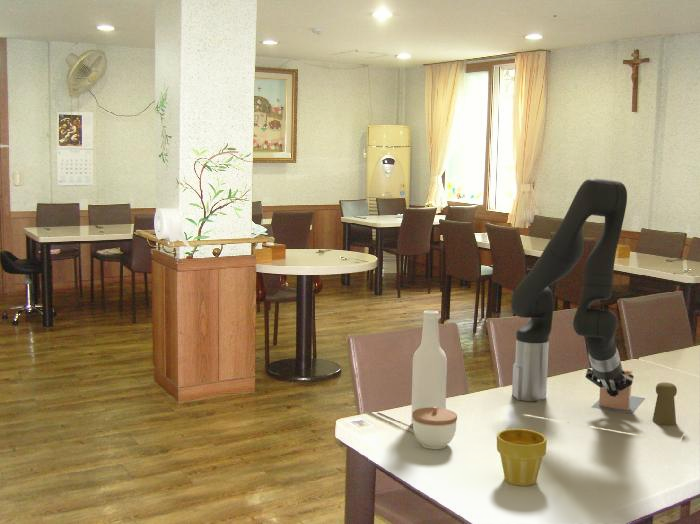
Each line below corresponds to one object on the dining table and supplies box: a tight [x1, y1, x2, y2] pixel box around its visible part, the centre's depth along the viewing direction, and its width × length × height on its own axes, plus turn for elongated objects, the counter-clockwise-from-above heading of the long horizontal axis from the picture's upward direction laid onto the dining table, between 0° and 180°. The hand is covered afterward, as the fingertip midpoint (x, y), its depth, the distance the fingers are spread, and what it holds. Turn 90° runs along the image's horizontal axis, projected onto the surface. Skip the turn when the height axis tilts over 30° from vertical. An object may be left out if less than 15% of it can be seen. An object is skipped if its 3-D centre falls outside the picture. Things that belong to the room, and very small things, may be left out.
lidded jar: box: [411, 407, 458, 450], centre depth 188 cm, size 11×11×9 cm
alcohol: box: [410, 309, 448, 424], centre depth 202 cm, size 9×9×30 cm
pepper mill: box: [652, 381, 678, 427], centre depth 206 cm, size 6×6×11 cm
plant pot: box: [496, 428, 548, 487], centre depth 167 cm, size 10×10×10 cm
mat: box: [591, 395, 646, 415], centre depth 224 cm, size 18×11×1 cm, turn 148°
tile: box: [598, 368, 633, 410], centre depth 219 cm, size 2×8×11 cm, turn 58°
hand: (613, 393), depth 217 cm, fingers closed
